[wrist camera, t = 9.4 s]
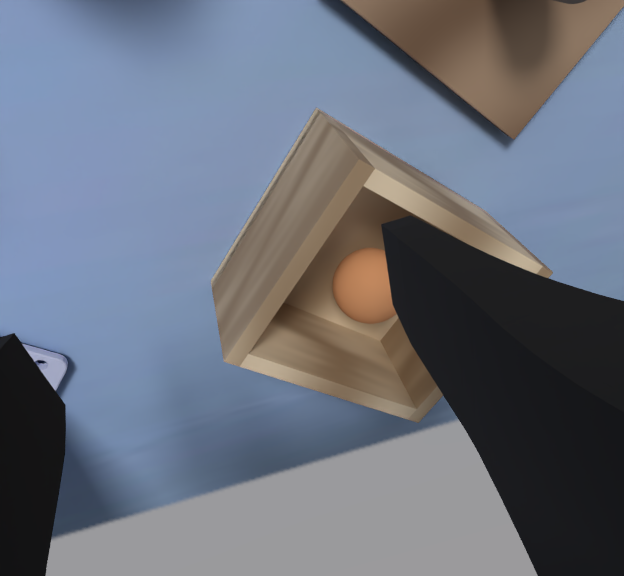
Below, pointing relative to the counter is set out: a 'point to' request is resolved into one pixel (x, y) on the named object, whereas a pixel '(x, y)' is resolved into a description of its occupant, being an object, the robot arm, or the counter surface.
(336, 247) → the box
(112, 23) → the counter surface
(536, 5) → the lid
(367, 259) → the ball
